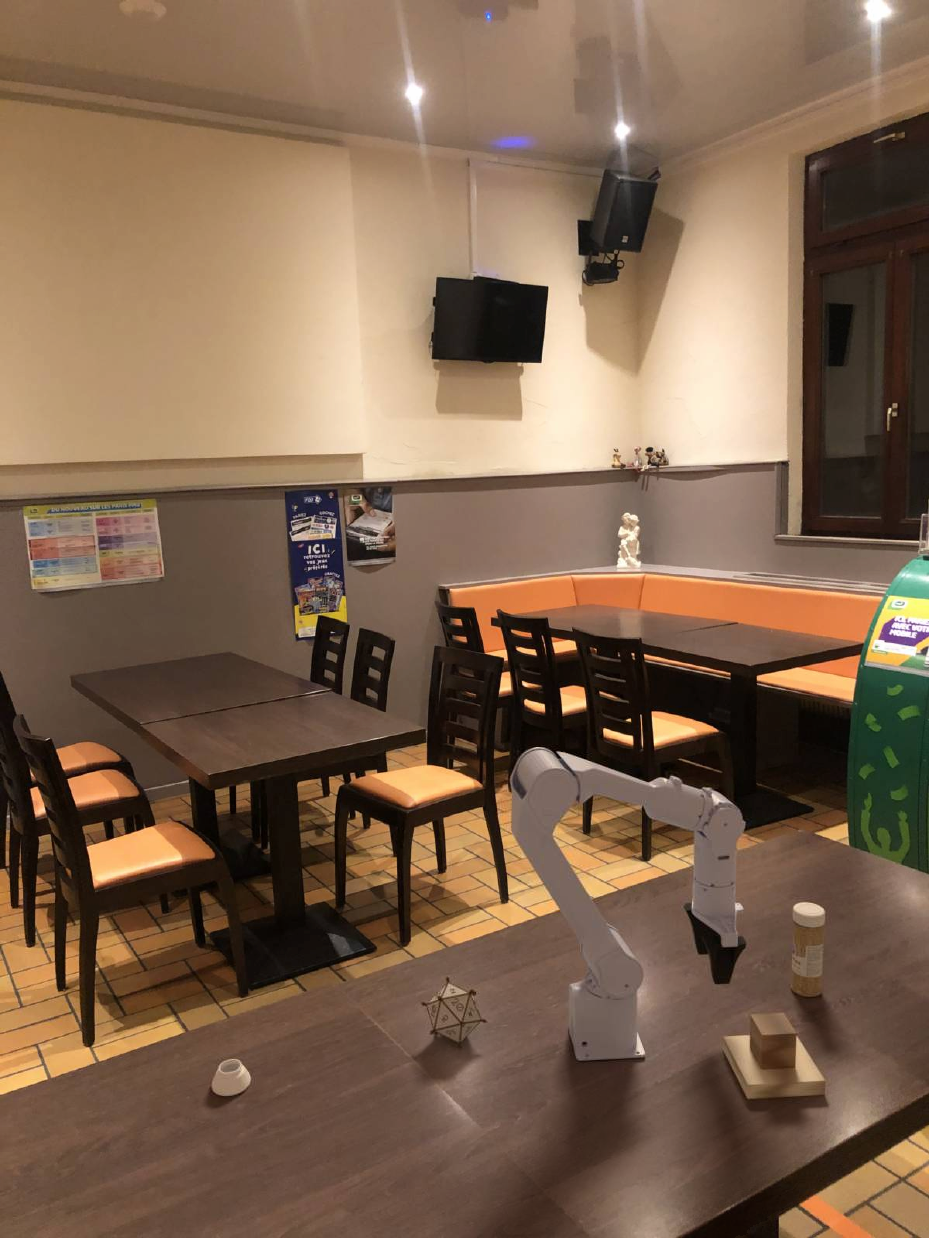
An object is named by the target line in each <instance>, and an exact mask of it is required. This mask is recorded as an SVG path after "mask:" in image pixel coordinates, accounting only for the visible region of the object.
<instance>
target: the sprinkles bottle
mask: <svg viewBox="0 0 929 1238" xmlns="http://www.w3.org/2000/svg"><path fill="white" fill-rule="evenodd" d="M792 919H793V921H792V922H793V936H792V937H793V939H792V951H791V952H792V954H791V955H792V957H791V982H790V989H791V990H792V992H793V993H795V994H797V995H798V996H801V997H805V998H806V997H808V998H811V997H814V998H815V997H817V996H820V995H821V993H822V973H823V959H824V958H823V957H824V955H823V954H824V925H825V922H826V910H825V909H824V908H823V907H822V906H820V905H819V904H816V903H812V902H804V901H802V902H798V903H796V904H795V905H793V907H792Z"/></svg>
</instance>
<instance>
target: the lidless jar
mask: <svg viewBox="0 0 929 1238" xmlns="http://www.w3.org/2000/svg"><path fill="white" fill-rule="evenodd" d="M251 1080H252V1077H251V1075H250V1072H249V1071H248V1069H247V1068H246V1067H245V1066H244V1065H243V1064H242V1061H241V1060H239V1059H236V1058H232V1059H229V1058H228V1059H226V1060H224V1061H222V1062H221V1063H220V1064H219V1065H218V1068H217V1070H216V1073H215V1075H214V1077H213V1079H212V1083H211V1089H212V1092H214V1093H215V1094H216V1095H217V1096H222V1097H229V1096H231V1097H232V1096H235V1095H239V1093H242V1092H244V1091H245V1090H247V1088H248V1087H249V1085H250V1084H251Z"/></svg>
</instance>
